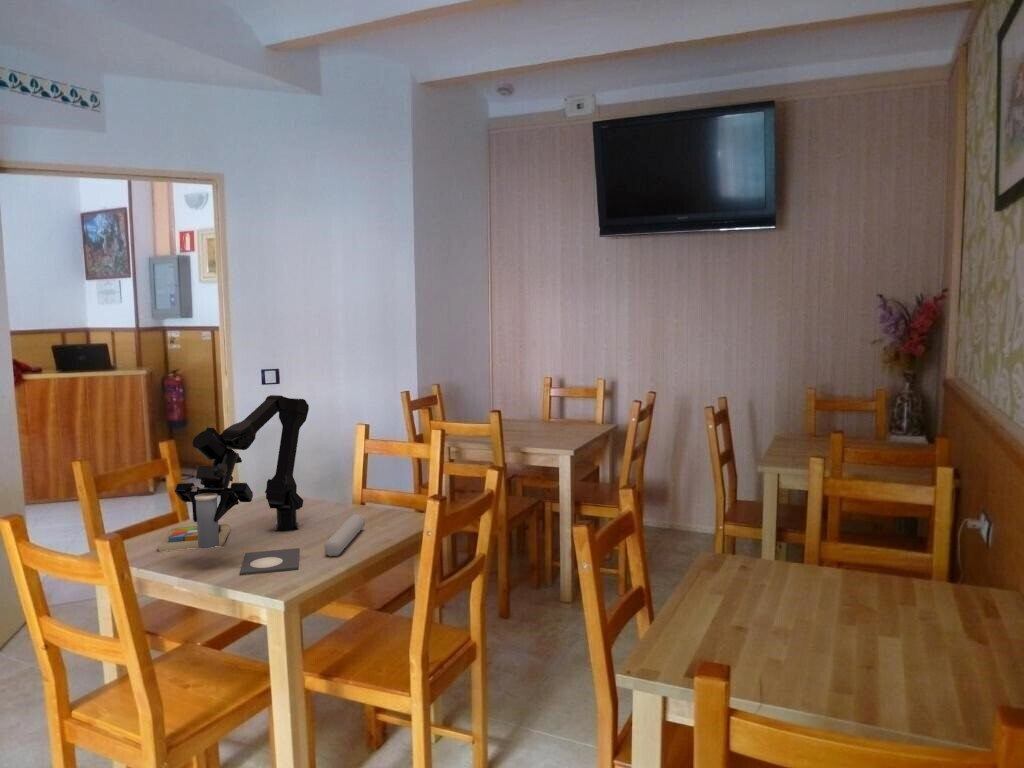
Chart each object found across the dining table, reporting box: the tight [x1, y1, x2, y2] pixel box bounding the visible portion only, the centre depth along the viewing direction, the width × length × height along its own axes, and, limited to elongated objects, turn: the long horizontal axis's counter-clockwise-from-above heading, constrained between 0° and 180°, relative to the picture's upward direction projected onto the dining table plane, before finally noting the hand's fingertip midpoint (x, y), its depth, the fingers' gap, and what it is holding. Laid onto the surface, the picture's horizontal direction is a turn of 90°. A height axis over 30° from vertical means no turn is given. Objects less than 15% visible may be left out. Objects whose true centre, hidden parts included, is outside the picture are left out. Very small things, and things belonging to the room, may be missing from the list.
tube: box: [323, 513, 366, 557], centre depth 209 cm, size 5×5×25 cm
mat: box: [239, 547, 300, 576], centre depth 194 cm, size 16×14×1 cm
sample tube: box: [195, 493, 219, 549], centre depth 190 cm, size 5×5×13 cm
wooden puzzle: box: [157, 522, 232, 552], centre depth 214 cm, size 18×19×4 cm
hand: (204, 521), depth 188 cm, fingers closed on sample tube, 5 cm apart
